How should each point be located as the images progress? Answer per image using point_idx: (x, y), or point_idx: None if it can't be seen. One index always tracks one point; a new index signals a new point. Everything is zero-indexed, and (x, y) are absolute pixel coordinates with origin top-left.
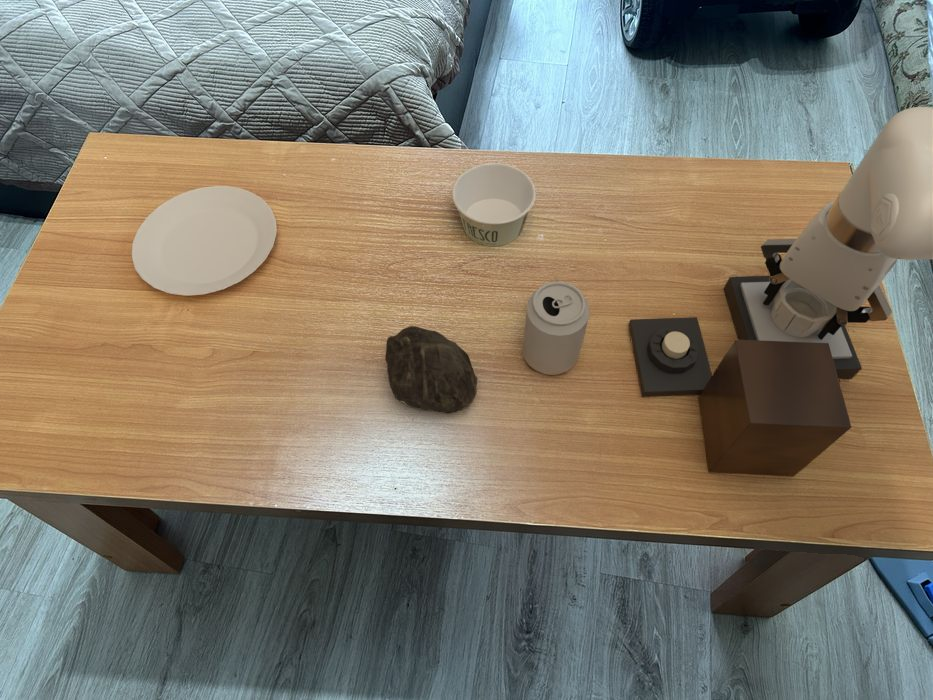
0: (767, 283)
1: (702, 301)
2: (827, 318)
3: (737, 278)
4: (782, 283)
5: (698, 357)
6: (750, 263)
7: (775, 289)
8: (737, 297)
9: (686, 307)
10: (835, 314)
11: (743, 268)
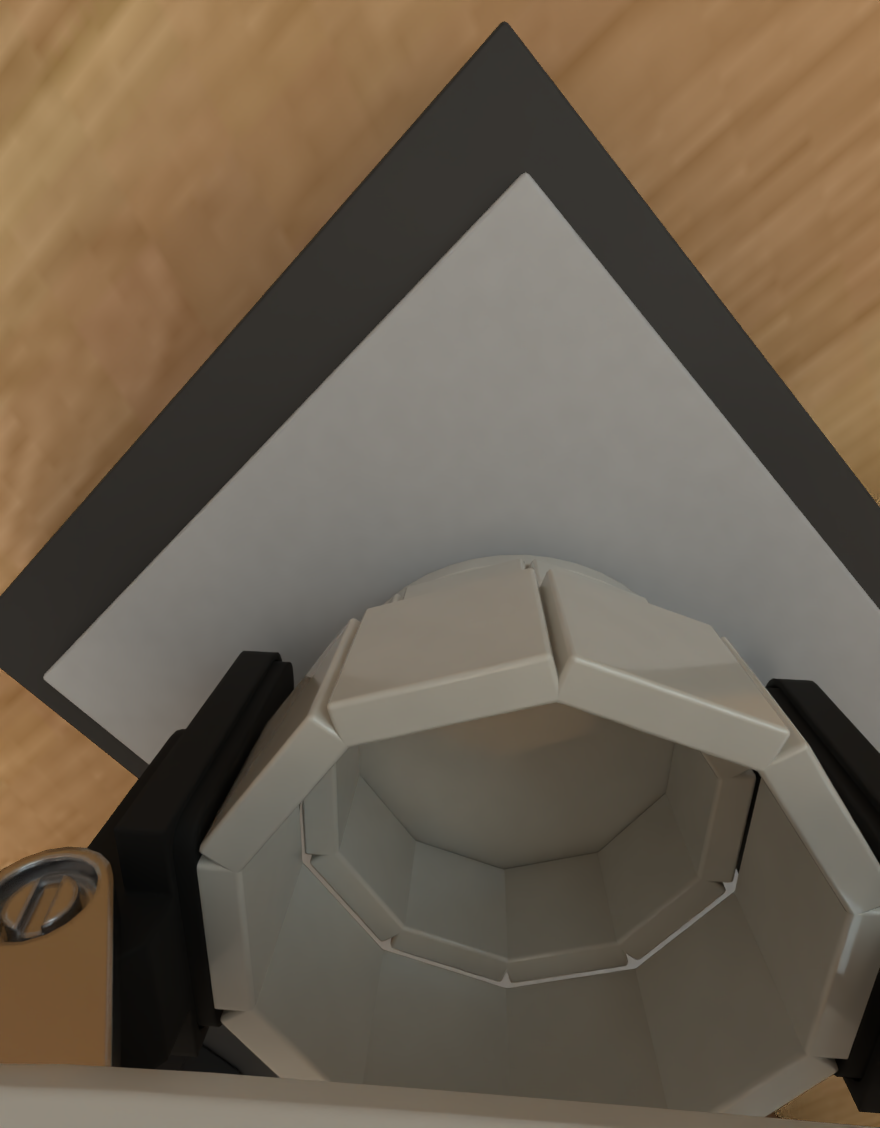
0: (176, 565)
1: (44, 729)
2: (803, 1081)
3: (7, 619)
4: (196, 968)
5: (247, 1063)
6: (15, 253)
7: (198, 1026)
8: (122, 754)
9: (20, 806)
10: (870, 1004)
11: (17, 337)
